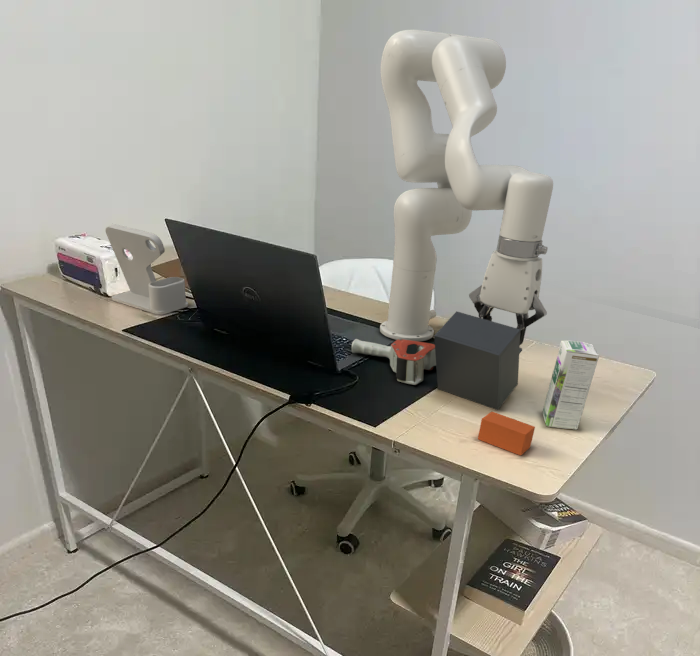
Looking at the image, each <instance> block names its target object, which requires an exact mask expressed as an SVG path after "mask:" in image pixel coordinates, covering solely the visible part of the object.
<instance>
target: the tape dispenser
mask: <svg viewBox="0 0 700 656" xmlns="http://www.w3.org/2000/svg"><path fill="white" fill-rule="evenodd" d="M411 345H416V351H415V353H407V350H408V347H409V346H411ZM351 353H352V354H362V355H369V356H374V357H382V358H388V360H389V366H390V368H391V370H392V371H393V372H394V373H395V378H396V380H397V382H399V383H400V382H401V383H403V384H408V385H413V386H416V385H418V384H420V383H422V382H423V381H424V370H425V371H432V370H433V369H434V367H436V355H435V343H430V342H425V341H420V342H417V341H411V340H404V339H398V340H395V341H393V342H392V343H391V344H390V346H389V345H385V344H381V343H377V342H372V341H371V342H370V341H364V340H361V339H358V338H355V339H354V340H353V341H352V342H351Z"/></svg>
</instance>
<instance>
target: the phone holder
mask: <svg viewBox="0 0 700 656" xmlns="http://www.w3.org/2000/svg"><path fill="white" fill-rule="evenodd" d="M105 234H106V237H107V239H108V242H109V244H110V246H111V248H112V251H113V253H114V255H115V258H116V260H117V263H118V265H119V268H120V270H121V272H122V274H123V277H124V279H125V283H126V284H127V286H128V289H129V290H127V291H124V292H121V293H117V294H113V295H111V301H112V302H116V303H119V304H123V305H125V306H129V307H132V308H136V309H138V310H141V311H145V312H147V313H151V314H154V315H159V316H160V315H166V314H169V313H173V312H176V311H179V310H182V309H184V308H186V307H187V308H188V307H189V302H188V301H187V297H186V281H185V279H184V278H183V277H178V276H171V277H166V278H163V279H159V280H157V279H156V277H155V274H154V273H155V272H154V271H153V268H152V264H153V263H154V262H156V260H157V259H158V258H159V257H161V256H162V255H163V254H164V253H165V250H166V249H165V246H164V243H163V241H162V240H161V238H160V237H159V235H157V234H155V233H153V232H149V231H145V230H141V229H137V228H133V227H127V226H125V225H121V224H117V223H111V224H109V225H108V226H106V227H105ZM152 243H153V244H152ZM125 250H127V251H128V252H129V253H130V254H131V256H132V259H130V258H129V255H128V254H126V252H125Z"/></svg>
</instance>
